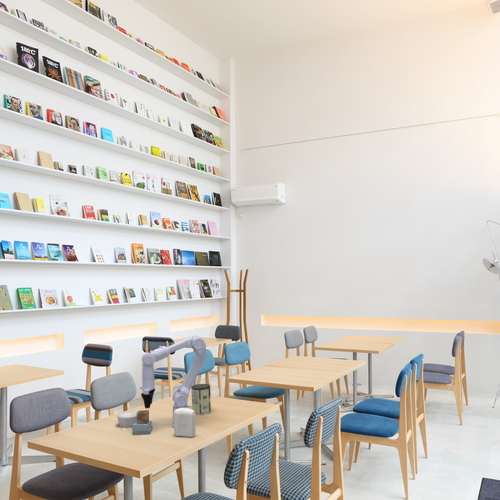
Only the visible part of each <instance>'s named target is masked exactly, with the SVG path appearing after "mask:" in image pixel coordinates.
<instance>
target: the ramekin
mask: <svg viewBox="0 0 500 500" xmlns="http://www.w3.org/2000/svg"><path fill="white" fill-rule="evenodd" d="M137 412H138V411H135V410H128V411H123V412H120V413H117V414H116V418H117V423H118V426H119V427H121V428H132V425H133V424H134V423H135V422H137Z"/></svg>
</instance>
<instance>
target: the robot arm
mask: <svg viewBox="0 0 500 500" xmlns="http://www.w3.org/2000/svg"><path fill="white" fill-rule="evenodd" d="M184 348H188V349H192V350H193V352H194V355H195V357H194V359H193V361H192V363H191V365H190V367H189V369H188V371H187V373H186V375H185V377H184V379H183V381H182V383H181V385H180V386H179V387H178V389H177V390H176V391H175V392H173V394H172V401H173V402H174V403H173V405H172V424H171V427H172V428H174V411H175V410H176V409H179V408H189V409H192V405H188V401H189V400H188V399H189V396H190V393H191V392H190V391H191V390H192V388H191V387H192V386H193V385H194V383H195V381H196V379H197V377H198V375H199V372H200V370H201V369H202V367H203V365H204V363H205V361H206V359H207V349H206V348H207V343H206V342H205V339H203V337H200V336H198V335H193V336H190V337H189V336H188V337H186V338H183V339H182V340H180V341H178V342H176V343H173V344H172V345H169V346H165V345H163V346H162V345H159V346H158V348H156V349H154V350H152V349H151V350H149V352H145V353H144V354H143V355H142V356H141V361H142V370H141V374H142V376H141V378H142V379H141V382H142V384H141V385H142V386H140V387H139V389H140V390H142V391H143V392H141V394H140V396H141V398H142V400H143V406H144V408H145V409H150V408H151V405H153V399H154V394H155V391H156V387H155V367H154V363H157V362H159V361H161V360H164V359H166V358H168V357H169V356H170V354H171V353H174V352H176V351H179V350H181V349H184Z"/></svg>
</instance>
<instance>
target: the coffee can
mask: <svg viewBox="0 0 500 500" xmlns="http://www.w3.org/2000/svg"><path fill="white" fill-rule="evenodd" d="M191 407H192V410H194V411H195V416H200V415H201V416H202V415H208V414H210V413H212V410H211V408H212V405H211V385H210V384H208V383H199V384H198V383H197V384H193V385H192V387H191Z"/></svg>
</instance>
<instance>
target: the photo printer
mask: <svg viewBox="0 0 500 500" xmlns="http://www.w3.org/2000/svg"><path fill="white" fill-rule="evenodd" d="M173 436H174V437H175V436H176V437H184V438H185V437H186V438H194V437H196V414H195V411H194V410H192V409H189V408H179V409H176V410H175V411H174V427H173Z"/></svg>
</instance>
